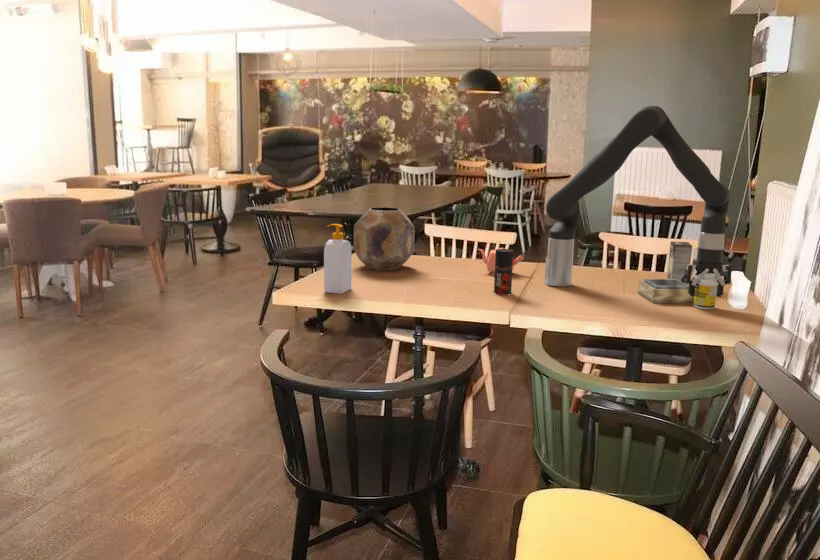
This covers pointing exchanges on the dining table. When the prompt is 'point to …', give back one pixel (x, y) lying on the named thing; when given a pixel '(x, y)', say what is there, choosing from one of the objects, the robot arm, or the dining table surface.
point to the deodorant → (503, 271)
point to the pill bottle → (706, 292)
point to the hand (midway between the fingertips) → (705, 296)
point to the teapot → (491, 260)
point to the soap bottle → (337, 263)
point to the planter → (384, 238)
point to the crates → (665, 291)
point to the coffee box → (679, 260)
